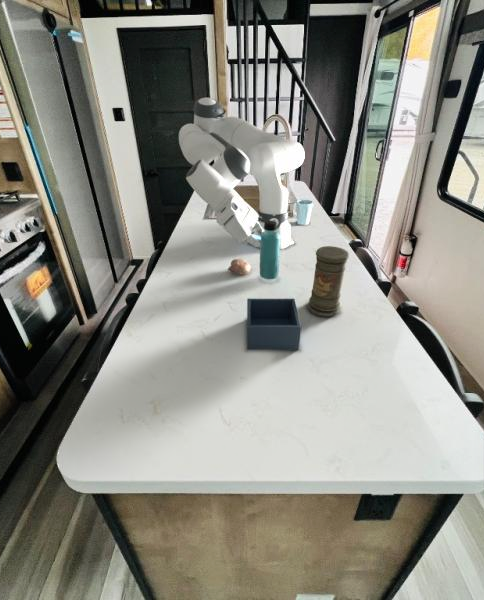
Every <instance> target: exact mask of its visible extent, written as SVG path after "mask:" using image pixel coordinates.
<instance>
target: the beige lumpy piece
mask: <svg viewBox="0 0 484 600" xmlns="http://www.w3.org/2000/svg"><path fill="white" fill-rule="evenodd" d="M251 269H252V267H251V265H250V263H249V262H247V261H245V260H244V259H241V258H238V259H237V258H235V259H232V260H231V262H230V266H229V267H228V268H227V271H230V272H231V273H237V274H239V275H242V276H243V275H248V274H250V272H251Z"/></svg>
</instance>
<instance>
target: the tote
mask: <svg viewBox="0 0 484 600" xmlns="http://www.w3.org/2000/svg"><path fill="white" fill-rule="evenodd" d="M301 325H302V324H301V321H300V317H299V313H298V308H297V304H296V300H295V298H247V299H246V350H249V351H251V350H252V351H253V350H254V351H255V350H256V351H257V350H258V351H299V348H300V340H301V332H302V326H301Z"/></svg>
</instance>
